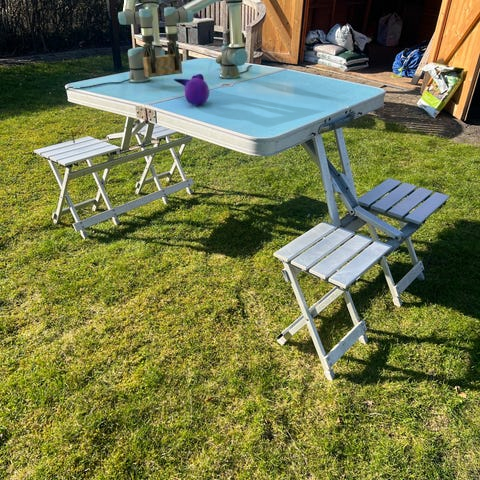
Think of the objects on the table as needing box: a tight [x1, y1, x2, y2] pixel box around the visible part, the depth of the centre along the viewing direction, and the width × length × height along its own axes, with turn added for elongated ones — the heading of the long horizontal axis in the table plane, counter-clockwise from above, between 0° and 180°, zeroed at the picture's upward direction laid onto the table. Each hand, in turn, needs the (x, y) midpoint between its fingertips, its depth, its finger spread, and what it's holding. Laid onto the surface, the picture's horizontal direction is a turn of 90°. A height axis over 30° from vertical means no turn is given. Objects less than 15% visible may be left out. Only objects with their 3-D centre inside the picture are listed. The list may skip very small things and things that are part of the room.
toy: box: [173, 73, 210, 107], centre depth 272 cm, size 16×18×27 cm
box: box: [143, 53, 183, 79], centre depth 307 cm, size 25×7×12 cm, turn 122°
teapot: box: [215, 55, 222, 68], centre depth 374 cm, size 21×12×15 cm, turn 120°
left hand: (151, 72), depth 305 cm, fingers closed on box, 7 cm apart
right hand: (174, 69), depth 312 cm, fingers closed on box, 7 cm apart
